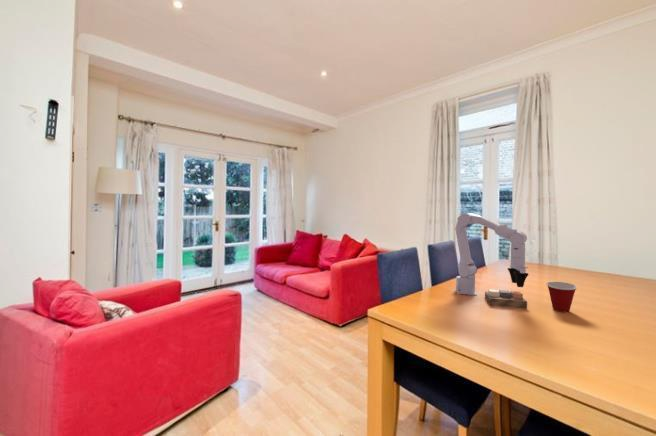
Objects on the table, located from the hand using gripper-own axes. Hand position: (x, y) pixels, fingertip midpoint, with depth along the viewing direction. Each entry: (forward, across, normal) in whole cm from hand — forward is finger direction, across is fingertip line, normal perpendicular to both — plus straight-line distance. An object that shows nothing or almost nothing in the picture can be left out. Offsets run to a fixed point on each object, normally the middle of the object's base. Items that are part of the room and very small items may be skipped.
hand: (517, 284), depth 133 cm
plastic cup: (+10, -4, -16) cm, 19 cm away
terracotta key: (+7, -1, +1) cm, 7 cm away
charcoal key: (+7, -1, +5) cm, 9 cm away
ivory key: (+7, -1, +10) cm, 12 cm away
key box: (+9, -1, +5) cm, 11 cm away
